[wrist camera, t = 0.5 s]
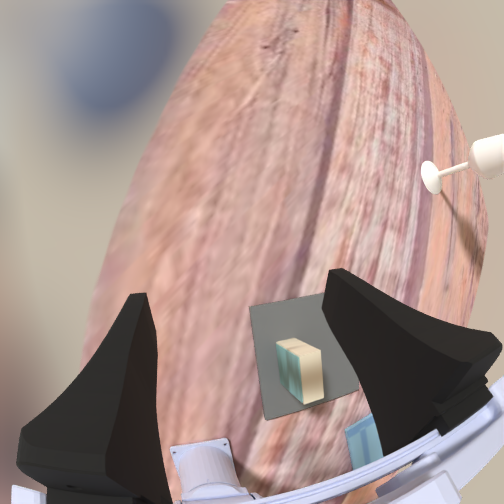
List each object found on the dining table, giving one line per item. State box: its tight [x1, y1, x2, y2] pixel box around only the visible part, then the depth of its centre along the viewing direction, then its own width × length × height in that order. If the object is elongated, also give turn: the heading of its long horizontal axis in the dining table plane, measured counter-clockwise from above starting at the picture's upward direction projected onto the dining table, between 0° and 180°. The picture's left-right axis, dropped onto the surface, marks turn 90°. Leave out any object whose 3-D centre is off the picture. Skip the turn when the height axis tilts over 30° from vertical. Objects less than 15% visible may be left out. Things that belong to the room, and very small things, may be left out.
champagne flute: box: [421, 134, 504, 194], centre depth 35 cm, size 7×7×24 cm
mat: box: [249, 292, 359, 420], centre depth 37 cm, size 16×15×1 cm
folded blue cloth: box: [345, 413, 384, 470], centre depth 40 cm, size 14×12×1 cm
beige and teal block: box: [276, 338, 324, 404], centre depth 33 cm, size 6×3×7 cm, turn 8°
